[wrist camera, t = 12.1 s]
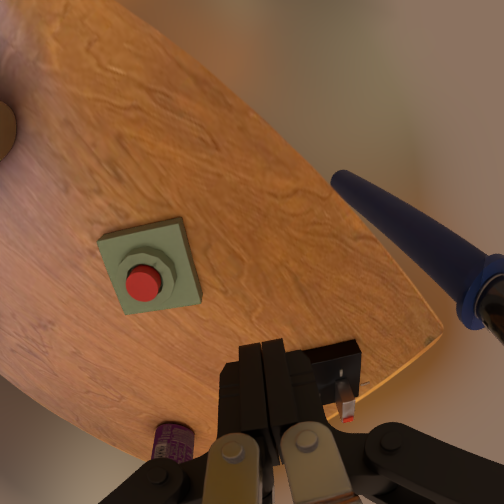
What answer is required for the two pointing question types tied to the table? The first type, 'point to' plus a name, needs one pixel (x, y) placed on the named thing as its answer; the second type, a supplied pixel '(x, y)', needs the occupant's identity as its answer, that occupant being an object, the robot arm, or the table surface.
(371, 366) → the table surface
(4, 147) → the plant pot
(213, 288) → the table surface
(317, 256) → the table surface
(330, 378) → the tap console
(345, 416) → the rotary knob
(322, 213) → the table surface
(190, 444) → the beverage can
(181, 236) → the switch
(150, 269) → the button
